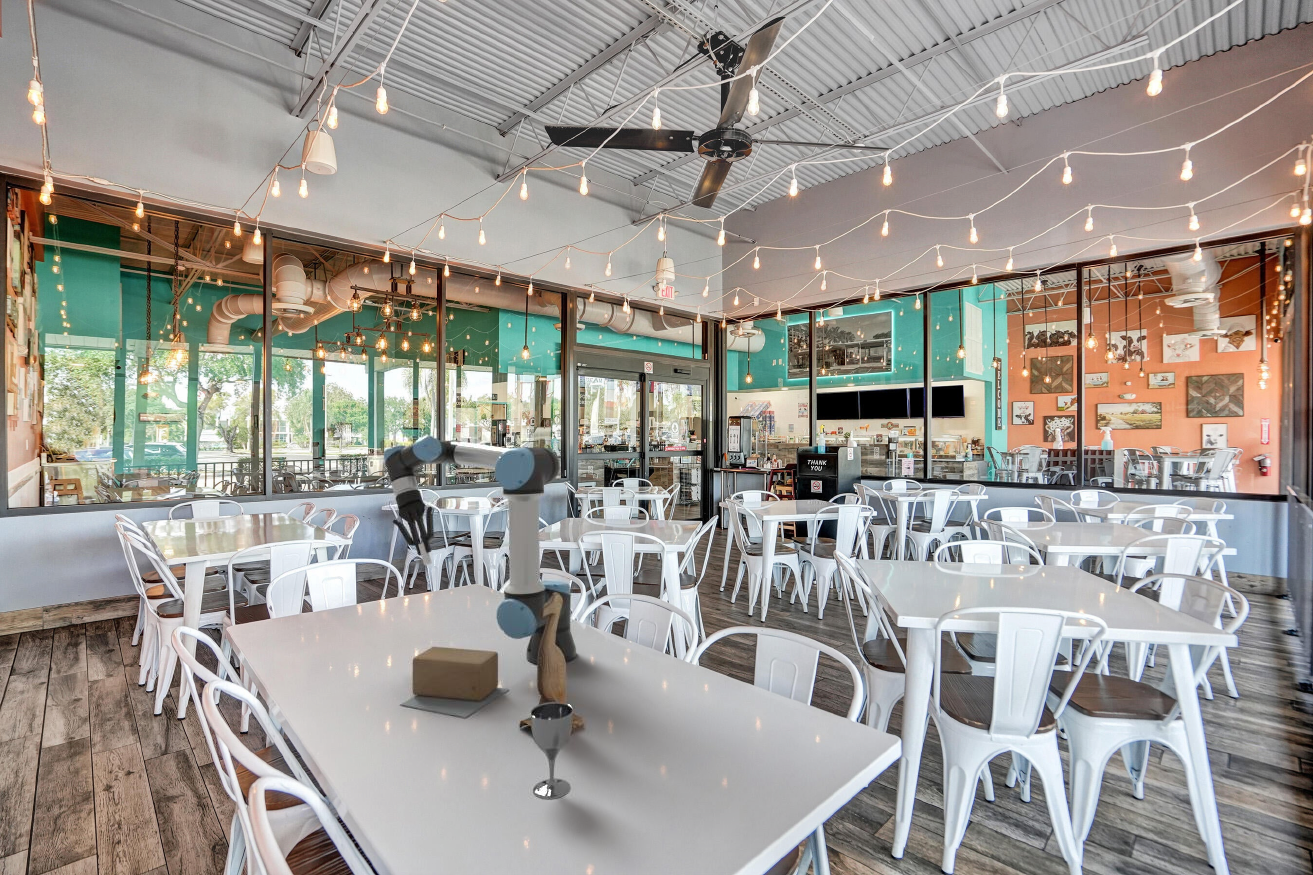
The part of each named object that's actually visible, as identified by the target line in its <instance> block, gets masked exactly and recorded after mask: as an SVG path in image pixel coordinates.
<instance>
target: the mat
mask: <svg viewBox="0 0 1313 875" xmlns="http://www.w3.org/2000/svg"><path fill="white" fill-rule="evenodd" d="M509 690H510V689H509V688H503V687H498V686H497V688H496V689H495V690H494V691H493V692H491V693H490V694H489V695H488V696H487V697H485V698H484V699H483V700H481V701H473V700H463V699H452V698H442V697H432V696H422V695H414V697H413V696H412V697H411V698H409V699H408V700H405V701H404V702H401V703H400V704H399V706H400V705H402V707H406V706H407V707H406V708H411V707H412V709H416V708H417V710H421V709H422V710H421V711H426V710H428V712H431V711H433V712H432V713H436V712H438V713H437V714H441V713H443V714H442V715H446V714H448V716H451V715H454V716H453V717H456V716H459V717H458V718H461V717H462V719H467V718H469V717H470V716H471V715H473V714H475V713H476V712H477V710H478V711H479V710H481V709H482V708H484V707H486V706H487V705H488V704H491V703H492V702H493V701H495V700H496V699H498V698H499V697H501V696H503V695H504V694H506V693H507V692H509ZM505 692H506V693H505ZM502 694H503V695H502ZM474 712H475V713H474ZM469 715H470V716H469ZM466 717H467V718H466Z"/></svg>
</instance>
